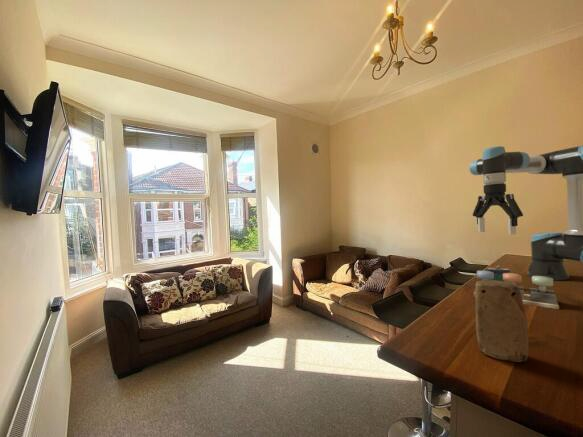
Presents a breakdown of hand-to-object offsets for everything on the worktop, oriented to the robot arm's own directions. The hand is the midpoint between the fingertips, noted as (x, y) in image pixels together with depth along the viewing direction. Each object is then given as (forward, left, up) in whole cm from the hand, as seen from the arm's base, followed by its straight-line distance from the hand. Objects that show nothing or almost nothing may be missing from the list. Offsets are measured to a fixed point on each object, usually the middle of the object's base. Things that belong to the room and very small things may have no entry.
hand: (496, 233), depth 108 cm
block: (+40, +33, -28) cm, 59 cm away
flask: (-12, -9, -28) cm, 32 cm away
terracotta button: (-3, +4, -24) cm, 24 cm away
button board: (-3, +4, -28) cm, 28 cm away
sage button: (-8, +11, -24) cm, 27 cm away
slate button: (+2, -4, -24) cm, 24 cm away
